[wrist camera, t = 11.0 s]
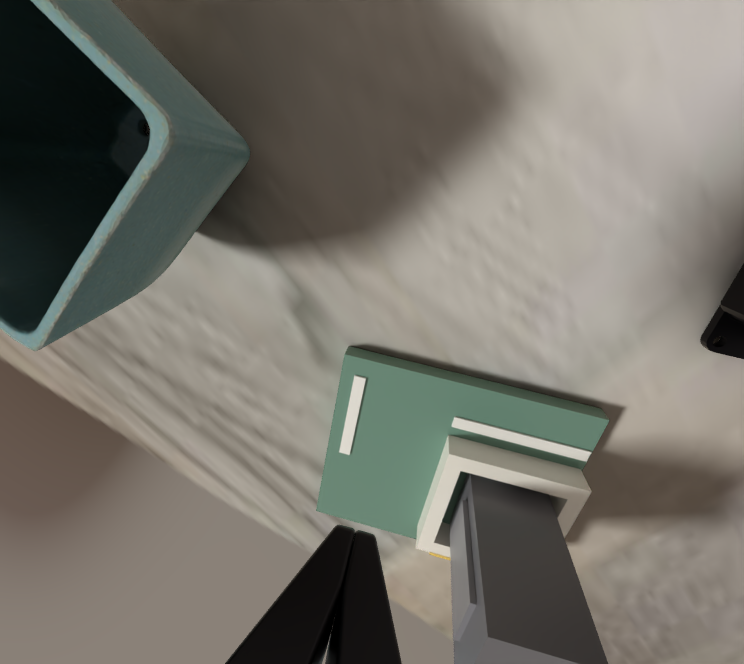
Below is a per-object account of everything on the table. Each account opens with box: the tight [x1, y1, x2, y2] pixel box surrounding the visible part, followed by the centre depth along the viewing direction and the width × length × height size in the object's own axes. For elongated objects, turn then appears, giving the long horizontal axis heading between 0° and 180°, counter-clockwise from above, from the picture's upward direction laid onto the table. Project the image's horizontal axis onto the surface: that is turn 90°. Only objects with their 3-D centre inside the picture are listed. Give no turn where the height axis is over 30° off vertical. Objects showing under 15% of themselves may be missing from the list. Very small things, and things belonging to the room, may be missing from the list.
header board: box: [316, 346, 609, 560], centre depth 20 cm, size 13×11×2 cm
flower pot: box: [0, 0, 250, 351], centre depth 13 cm, size 9×9×9 cm
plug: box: [450, 473, 608, 664], centre depth 16 cm, size 4×4×9 cm
